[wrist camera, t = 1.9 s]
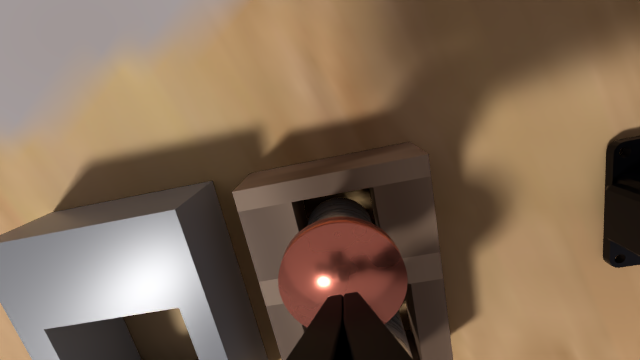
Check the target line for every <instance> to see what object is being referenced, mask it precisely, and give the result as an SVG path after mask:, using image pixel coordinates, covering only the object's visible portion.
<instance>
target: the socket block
mask: <svg viewBox="0 0 640 360" xmlns="http://www.w3.org/2000/svg"><path fill="white" fill-rule="evenodd" d="M365 188H369V190H370V196H371V201H372V207H373V213H374V218H375V224H376V226H378V227H379V228H380V229H382V230H383V231H385V232H386V233H387V234H388V235H389V236H390V237H391V239H392V240H393V241H394V242H395V244H396V246H397V248H398V249H399V252H400V254H401V257H402V259H403V261H404V264H405V267H406V271H407V279H408V283H407V291H406V296H405V300H406V307H407V313H408V319H409V326H410V331H406V332H405V334H406V337H407V341H408V344H409V348H410V351H411V354H412V358H413V360H453V355H452V347H451V338H450V330H449V322H448V313H447V305H446V297H445V288H444V280H443V272H442V263H441V255H440V246H439V238H438V230H437V221H436V213H435V205H434V196H433V188H432V180H431V171H430V163H429V154H427V153H426V152H424V151H423V150H422V149H420V148H419V147H417V146H416V145H414V144H413V143H411V142H407V143H402V144H397V145H391V146H386V147H381V148H376V149H371V150H366V151H361V152H356V153H351V154H346V155H341V156H336V157H330V158H325V159H320V160H315V161H310V162H305V163H300V164H295V165H290V166H285V167H280V168H275V169H270V170H264V171H259V172H254V173H250V174H249V175H248V176H247V177H246V178H245V179H244V180H243V181H242V182H241V183H240V184H239V185H238V186H237V187H236V188H235V189H234V190H233V191H232V194H233V197H234V200H235V204H236V207H237V211H238V214H239V217H240V221H241V224H242V227H243V231H244V234H245V237H246V241H247V244H248V248H249V251H250V254H251V258H252V261H253V264H254V268H255V271H256V275H257V278H258V281H259V285H260V288H261V291H262V295H263V298H264V301H265V305H266V308H267V312H268V315H269V318H270V322H271V325H272V328H273V332H274V335H275V339H276V342H277V345H278V349H279V352H280V355H281V359H282V360H286V359H287V357H288V356H289V354H290V353H291V351H292V350H293V348H294V347H295V345H296V344H297V342H298V341H299V339H300V338H301V336H302V335H303V333H304V332H305V330H306V329H307V327H305V326H304V325H302V324H301V323H300V322H298V321H297V320H296V319H295V318H294V317H293V316H292V315H291V314H290V313H289V311H288V310H287V308H286V307H285V305H284V303H283V301H282V298H281V296H280V292H279V287H278V275H279V269H280V265H281V262H282V258H283V255H284V253H285V250H286V248H287V246H288V245H289V243H290V241H291V240H292V239H293V238H294V236H295V235H296V234H298V233H299V232H300V231H301V230H302V229H304V228H305V227H306V226H307V223H308V219H307V215H306V211H305V206H304V202H303V200H306V199H311V198H316V197H322V196H327V195H333V194H338V193H343V192H349V191H354V190H359V189H365Z"/></svg>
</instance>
